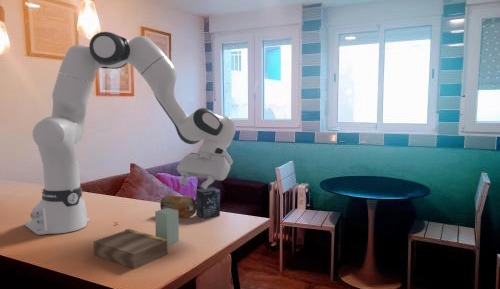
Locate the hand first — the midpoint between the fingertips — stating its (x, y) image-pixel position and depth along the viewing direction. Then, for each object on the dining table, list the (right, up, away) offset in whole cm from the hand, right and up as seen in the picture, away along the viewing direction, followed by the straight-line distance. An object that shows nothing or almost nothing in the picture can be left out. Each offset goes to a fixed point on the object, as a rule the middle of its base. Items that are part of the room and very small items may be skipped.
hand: (192, 186), depth 125 cm
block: (-7, -17, -9) cm, 20 cm away
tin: (-8, -14, +18) cm, 25 cm away
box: (+3, -14, +19) cm, 24 cm away
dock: (-15, -18, -19) cm, 30 cm away
